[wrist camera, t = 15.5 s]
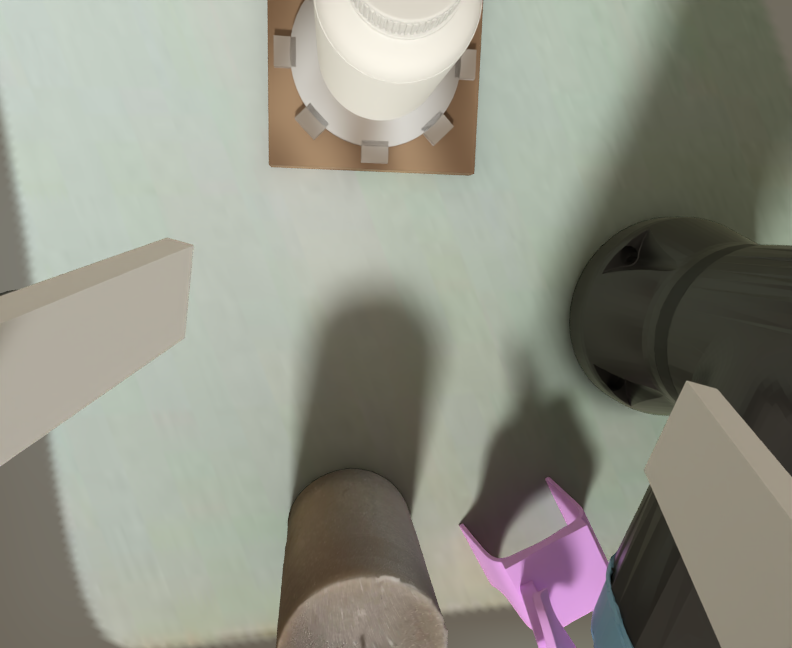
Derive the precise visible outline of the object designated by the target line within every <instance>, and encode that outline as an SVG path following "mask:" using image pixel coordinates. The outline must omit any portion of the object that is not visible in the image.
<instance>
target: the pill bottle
mask: <svg viewBox="0 0 792 648" xmlns="http://www.w3.org/2000/svg"><path fill="white" fill-rule="evenodd" d="M482 1H483V0H313V2H314V15H315V27H316V40H317V53H318V62H319V67H320V71H321V74H322V77H323V79H324V81H325V84H326V85H327V87H328V89H329V91H330V92H331V94H332V95H333V96H334V98H335V99H336V100H337V101H338V102H339V103H340V104H341V105H342V106H343V107H345V108H346V109H347V110H349V111H350V112H352V113H354V114H356V115H358V116H360V117H363V118H366V119H371V120H380V121H383V120H392V119H396V118H400V117H402V116H405V115H407V114H409V113H411V112H412V111H414V110H415V109H417V108H418V107H419V106H420V105H422V104H423V103H424V102H425V101H426V99H427V98H428V97H429V96H430V94H431V93H432V92H433V91H434V89H435V88H436V87H437V86H438V84H439V83H440V82H441V81H442V79H443V78H444V77H445V76H446V74H447V73H448V72H449V71H450V69H451V68H452V67H453V66H454V64H455V63H456V62H457V61H458V59H459V58H460V57H461V56H462V54H463V53H464V51H465V50H466V49H467V47H468V45H469V44H470V42H471V40H472V38H473V36H474V34H475V31H476V29H477V26H478V23H479V19H480V15H481V10H482Z"/></svg>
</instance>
